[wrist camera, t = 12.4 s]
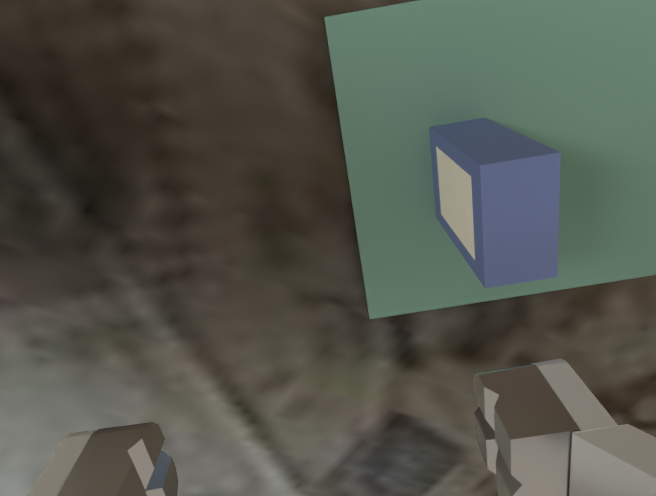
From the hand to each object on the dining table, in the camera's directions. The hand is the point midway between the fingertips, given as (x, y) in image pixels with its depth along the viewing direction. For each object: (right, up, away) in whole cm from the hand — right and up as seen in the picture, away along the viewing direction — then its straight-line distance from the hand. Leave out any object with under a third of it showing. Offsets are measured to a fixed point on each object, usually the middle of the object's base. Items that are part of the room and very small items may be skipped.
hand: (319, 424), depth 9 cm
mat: (+9, +7, +13) cm, 17 cm away
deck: (+6, +7, +13) cm, 16 cm away
